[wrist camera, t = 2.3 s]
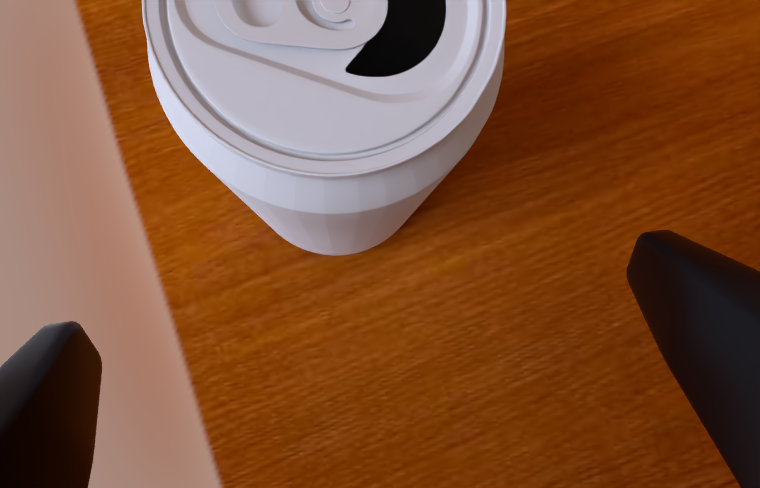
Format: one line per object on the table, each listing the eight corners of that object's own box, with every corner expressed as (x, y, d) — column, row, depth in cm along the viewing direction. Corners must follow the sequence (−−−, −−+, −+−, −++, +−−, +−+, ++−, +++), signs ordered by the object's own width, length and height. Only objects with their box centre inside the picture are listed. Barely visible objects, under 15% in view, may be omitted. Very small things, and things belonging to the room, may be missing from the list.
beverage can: (417, 258, 20) (538, 205, 8) (247, 255, 19) (97, 193, 7) (418, 98, 20) (531, -181, 8) (254, 91, 20) (125, -216, 8)
